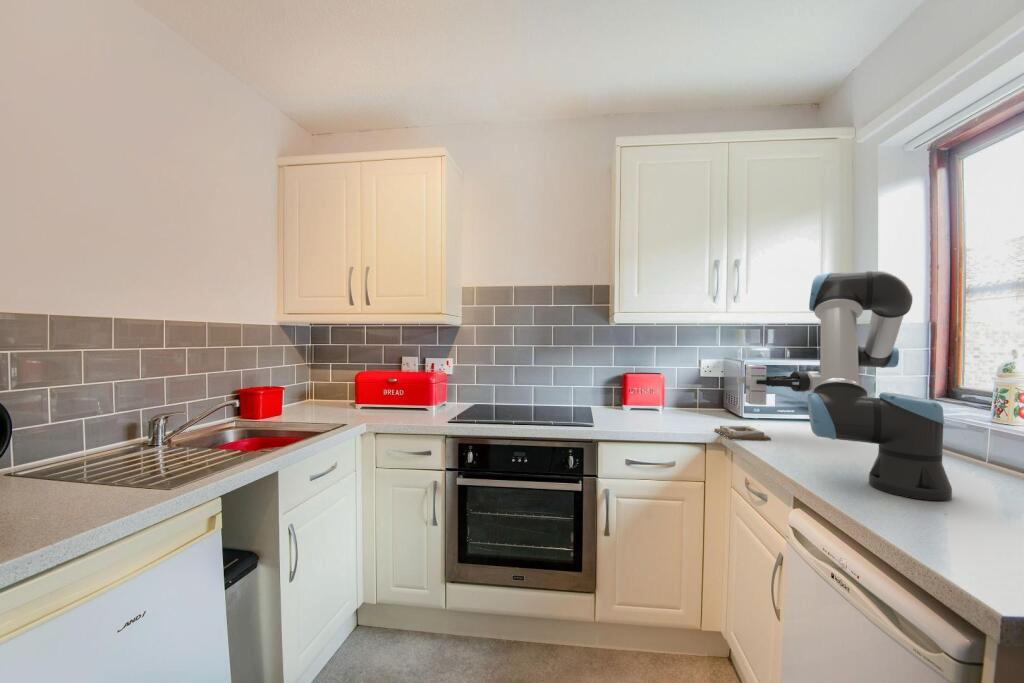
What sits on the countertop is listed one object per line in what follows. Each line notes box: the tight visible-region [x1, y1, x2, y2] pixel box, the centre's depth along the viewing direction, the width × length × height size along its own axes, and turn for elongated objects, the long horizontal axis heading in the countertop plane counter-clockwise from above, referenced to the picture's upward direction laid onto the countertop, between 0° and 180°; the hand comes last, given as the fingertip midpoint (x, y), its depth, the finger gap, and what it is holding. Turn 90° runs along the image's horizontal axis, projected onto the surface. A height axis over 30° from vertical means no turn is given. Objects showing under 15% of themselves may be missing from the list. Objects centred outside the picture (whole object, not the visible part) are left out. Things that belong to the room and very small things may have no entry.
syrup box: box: [745, 364, 767, 406], centre depth 163 cm, size 6×6×14 cm
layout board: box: [714, 425, 772, 441], centre depth 164 cm, size 14×14×2 cm
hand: (742, 380), depth 163 cm, fingers closed on syrup box, 6 cm apart
